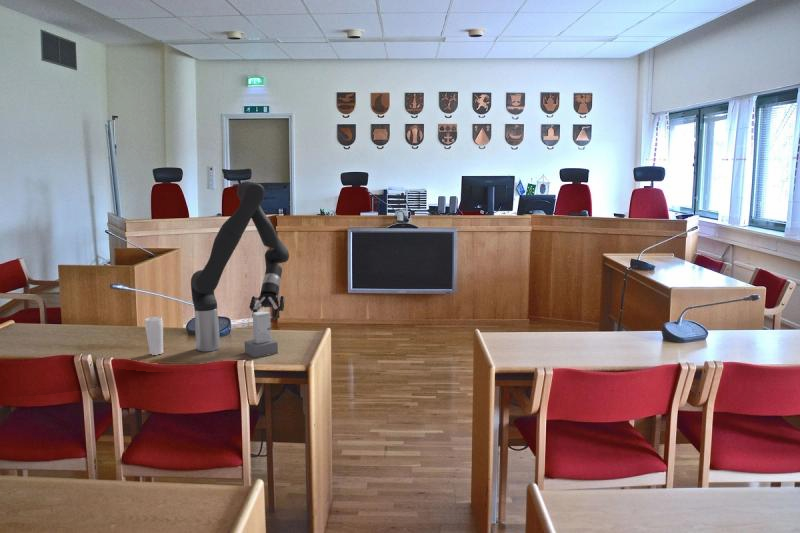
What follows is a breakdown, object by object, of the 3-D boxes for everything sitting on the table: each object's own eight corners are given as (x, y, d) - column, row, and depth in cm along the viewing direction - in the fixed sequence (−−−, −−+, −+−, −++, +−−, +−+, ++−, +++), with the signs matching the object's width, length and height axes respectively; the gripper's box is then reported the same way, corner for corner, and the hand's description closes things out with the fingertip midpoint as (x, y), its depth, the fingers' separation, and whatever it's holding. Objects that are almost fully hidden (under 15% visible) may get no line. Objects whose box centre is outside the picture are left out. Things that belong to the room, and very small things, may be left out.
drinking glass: (148, 357, 265) (145, 321, 263) (146, 353, 271) (143, 318, 269) (166, 354, 268) (163, 319, 266) (164, 350, 274) (161, 316, 272)
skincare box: (257, 344, 263) (256, 315, 261) (253, 341, 267) (251, 312, 265) (271, 341, 267) (270, 312, 265) (267, 338, 271) (265, 310, 268)
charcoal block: (245, 353, 269) (244, 341, 268) (267, 348, 275) (266, 337, 274) (255, 358, 261) (254, 346, 260) (278, 354, 267) (277, 342, 266)
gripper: (252, 281, 280) (245, 314, 270) (284, 281, 278) (278, 313, 269) (257, 291, 286) (250, 323, 276) (288, 290, 284) (283, 323, 275)
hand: (264, 318), depth 272 cm, fingers open, 8 cm apart
